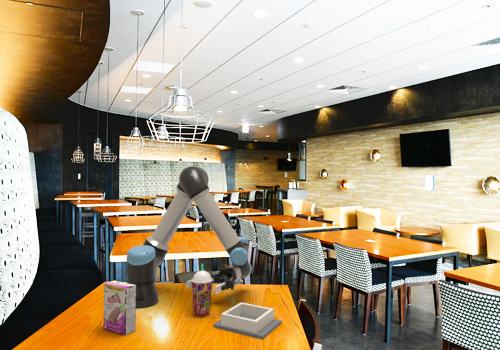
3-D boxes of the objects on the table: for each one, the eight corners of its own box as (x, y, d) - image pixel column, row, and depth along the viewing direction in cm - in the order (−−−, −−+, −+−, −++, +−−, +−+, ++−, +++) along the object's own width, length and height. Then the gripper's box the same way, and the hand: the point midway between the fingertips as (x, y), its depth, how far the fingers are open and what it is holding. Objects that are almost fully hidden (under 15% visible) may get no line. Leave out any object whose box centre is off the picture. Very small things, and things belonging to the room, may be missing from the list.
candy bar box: (102, 329, 129) (103, 283, 129) (113, 324, 133) (114, 279, 134) (125, 336, 124) (126, 288, 124) (136, 331, 128) (136, 284, 128)
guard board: (213, 327, 132) (213, 313, 132) (235, 313, 146) (235, 300, 147) (262, 339, 123) (262, 324, 123) (281, 323, 137) (281, 309, 137)
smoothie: (208, 319, 140) (209, 266, 140) (187, 317, 141) (188, 265, 142) (214, 311, 148) (215, 262, 148) (195, 309, 150) (195, 260, 150)
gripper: (254, 288, 156) (228, 302, 138) (206, 279, 168) (176, 292, 149) (254, 270, 157) (228, 282, 138) (206, 263, 168) (176, 273, 150)
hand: (201, 287), depth 144 cm, fingers open, 13 cm apart
